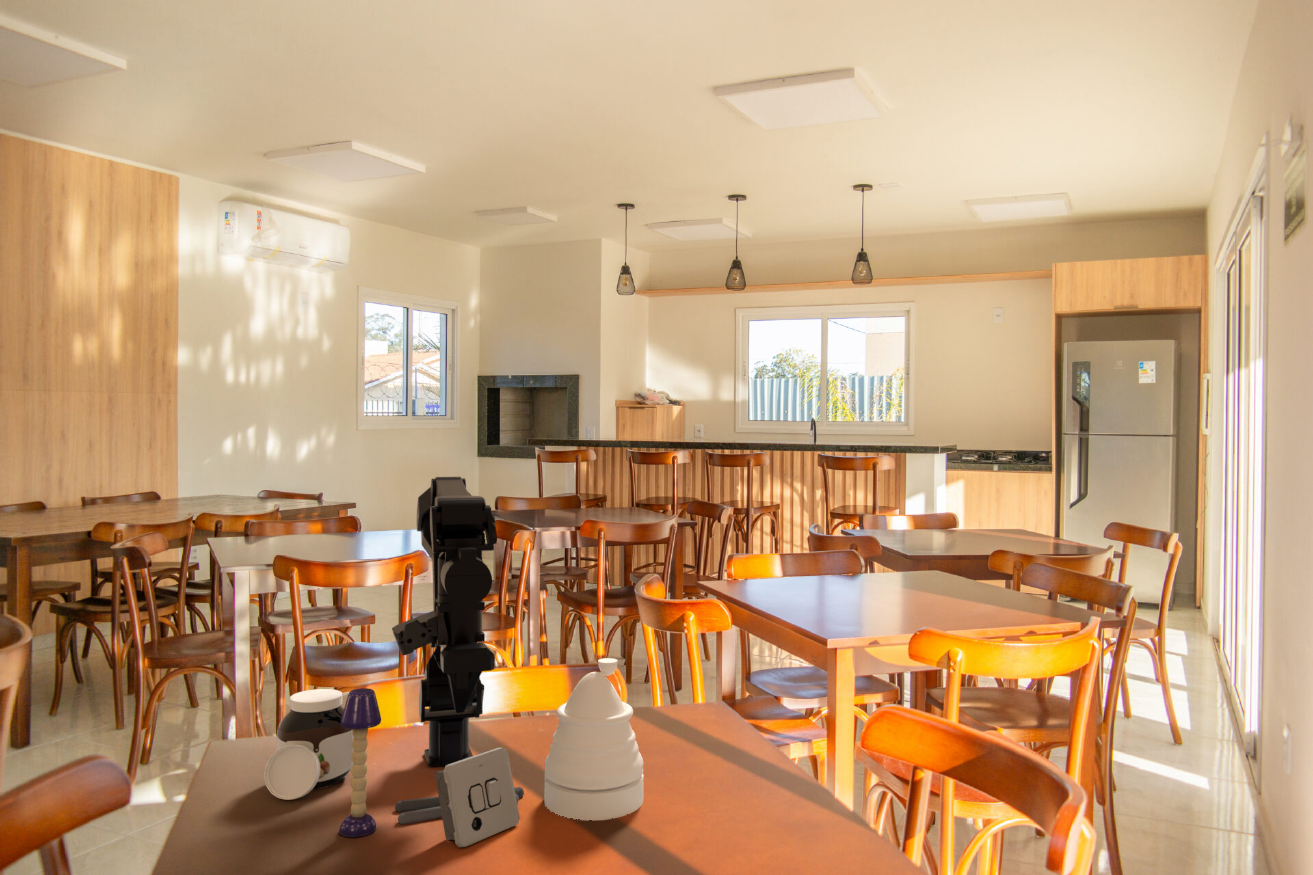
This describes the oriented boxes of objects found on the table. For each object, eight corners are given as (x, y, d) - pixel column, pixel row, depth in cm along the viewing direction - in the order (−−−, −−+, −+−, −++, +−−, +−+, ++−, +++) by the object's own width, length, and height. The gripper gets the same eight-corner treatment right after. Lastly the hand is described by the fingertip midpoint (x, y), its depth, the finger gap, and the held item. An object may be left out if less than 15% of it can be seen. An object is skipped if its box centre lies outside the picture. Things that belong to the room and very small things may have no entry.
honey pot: (613, 775, 131) (614, 646, 131) (661, 807, 120) (662, 666, 120) (528, 793, 125) (529, 657, 124) (571, 828, 114) (571, 680, 113)
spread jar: (348, 765, 135) (349, 684, 135) (363, 792, 125) (364, 704, 125) (258, 779, 129) (258, 694, 129) (266, 808, 119) (266, 716, 119)
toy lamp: (345, 821, 115) (345, 685, 115) (383, 820, 116) (384, 684, 115) (335, 838, 110) (336, 696, 110) (376, 837, 111) (376, 695, 111)
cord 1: (394, 810, 119) (394, 799, 119) (522, 795, 125) (522, 784, 125) (395, 814, 118) (395, 803, 118) (524, 798, 123) (524, 788, 123)
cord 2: (396, 823, 115) (396, 811, 115) (516, 801, 122) (516, 790, 122) (399, 827, 114) (399, 815, 114) (520, 805, 121) (520, 794, 121)
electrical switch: (460, 851, 107) (456, 768, 108) (432, 843, 110) (428, 762, 111) (521, 825, 115) (517, 748, 115) (493, 818, 118) (488, 743, 118)
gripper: (392, 585, 129) (391, 698, 129) (401, 607, 112) (401, 739, 112) (473, 581, 133) (473, 692, 133) (495, 602, 115) (494, 730, 115)
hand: (459, 711), depth 123 cm, fingers closed
